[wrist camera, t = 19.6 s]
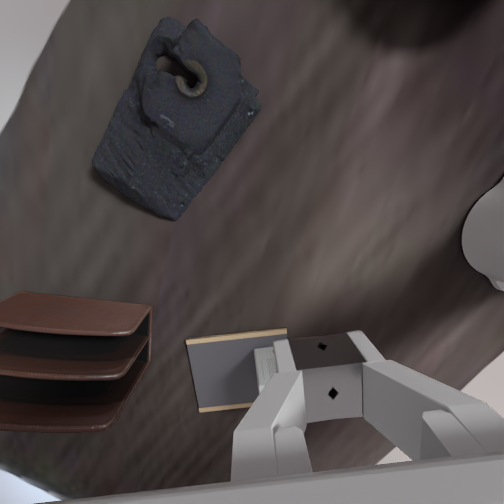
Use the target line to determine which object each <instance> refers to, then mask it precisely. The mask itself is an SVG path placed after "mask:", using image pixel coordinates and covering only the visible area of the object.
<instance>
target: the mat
mask: <svg viewBox="0 0 504 504" xmlns="http://www.w3.org/2000/svg"><path fill="white" fill-rule="evenodd" d="M283 339H287V329H286V328H277V329H268V330H259V331H250V332H241V333H232V334H223V335H213V336H204V337H195V338H186V344H187V348H188V353H189V359H190V364H191V369H192V374H193V379H194V385H195V390H196V395H197V400H198V406H199V412H209V411H218V410H227V409H236V408H245V407H251V406H252V404H253V403H254V401H255V400H256V398H257V397H258V396H259V389H258V383H257V374H256V365H255V356H254V349H257V348H265V347H273V341H275V340H283Z"/></svg>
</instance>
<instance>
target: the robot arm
mask: <svg viewBox="0 0 504 504" xmlns="http://www.w3.org/2000/svg"><path fill="white" fill-rule="evenodd" d="M462 248H463V252H464V255H465V257H466V259H467V261H468V262H469V264H470V265H471V266H472V267H473V268H474V269H475V270H477V271H478V272H480V273H482V274H484V275H485V276H487V277H488V278H489V280H490V281H491V283H492V285H493V286H494V287H495V288H496V289H498V290H501V291H504V177H503V179H502V180H501V182H500V183H499V184H497V185H496V186H495V187H494V188H492V189H491V190H490V191H488V192H487V193H486V194H485V195H483V196H482V197H481V198H480V199H479V200H478V202H477V203H476V204H475V205H474V207H473V208H472V209H471V211H470V213H469V215H468V217H467V219H466V221H465V224H464V227H463V232H462ZM273 348H274V357H275V366H276V373H274V374H273V375H272V377H271V378H270V380H269V381H268V382H267V384H266V385H265V387H264V388H263V390H262V391H261V393H260V394H259V396H258V397H257V398H256V400H255V401H254V403H253V404H252V406H251V407H250V409H249V410H248V412H247V413H246V415H245V416H244V417H243V419H242V420H241V422H240V423H239V425H238V426H237V428H236V429H235V431H234V434H233V451H232V467H231V481H230V482H222V483H213V484H204V485H195V486H186V487H178V488H169V489H160V490H151V491H142V492H133V493H125V494H116V495H107V496H98V497H89V498H80V499H72V500H63V501H54V502H45V503H36V504H504V418H503V417H501V416H500V415H499V414H498V413H497V412H496V411H495V410H494V409H492V408H491V407H490V406H489V405H488V404H487V403H485V402H483V401H481V400H478V399H476V398H474V397H472V396H469V395H467V394H465V393H463V392H461V391H458V390H456V389H454V388H452V387H450V386H447V385H445V384H443V383H441V382H439V381H436V380H434V379H432V378H430V377H428V376H425V375H423V374H421V373H419V372H417V371H414V370H412V369H410V368H408V367H406V366H403V365H401V364H399V363H397V362H394V361H392V360H385V359H384V357H383V356H382V355H381V354H380V353H379V351H378V350H377V349H376V348H375V347H374V345H373V344H372V343H371V342H370V340H369V339H368V338H367V337H366V336H365V334H364V333H363V332H362V331H360V330H357V331H351V332H345V333H339V334H332V335H324V336H313V337H303V338H293V339H288V340H287V339H283V340H275V341H273ZM352 417H364V419H365V420H366V421H368V422H369V423H370V424H371V425H372V426H373V427H375V428H376V429H377V430H378V431H379V432H380V433H382V434H383V435H384V436H385V437H386V438H387V439H389V440H390V441H391V442H392V443H393V444H394V445H396V446H397V447H398V448H399V449H400V450H401V451H403V452H404V453H405V454H406V455H407V456H408V457H409V458H411V459H412V460H413V461H406V462H398V463H389V464H380V465H371V466H363V467H354V468H345V469H336V470H327V471H319V472H313V471H312V466H311V462H310V458H309V454H308V450H307V446H306V442H305V438H304V432H305V429H306V426H307V423H311V422H317V421H324V420H331V419H340V418H352Z"/></svg>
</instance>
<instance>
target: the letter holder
mask: <svg viewBox="0 0 504 504" xmlns="http://www.w3.org/2000/svg"><path fill="white" fill-rule="evenodd" d="M152 321H153V306H152V305H143V304H134V303H125V302H115V301H106V300H97V299H88V298H79V297H70V296H61V295H51V294H40V293H30V292H18V293H16V294H14V295H12V296H10V297H8V298H6V299H3V300H1V301H0V327H1V328H7V329H5V330H3V331H2V332H0V431H16V432H41V433H80V432H99V431H103V430H106V429H109V428H110V427H112V426H113V425H114V424H115V422H116V421H117V419H118V417H119V416H120V414H121V412H122V410H123V408H124V407H125V405H126V403H127V401H128V400H129V398H130V396H131V394H132V392H133V390H134V388H135V387H136V385H137V384H138V381H139V379H140V378H141V376H142V374H143V373H144V371H145V369H146V367H147V366H148V364H149V363H150V360H151V346H152Z"/></svg>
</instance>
